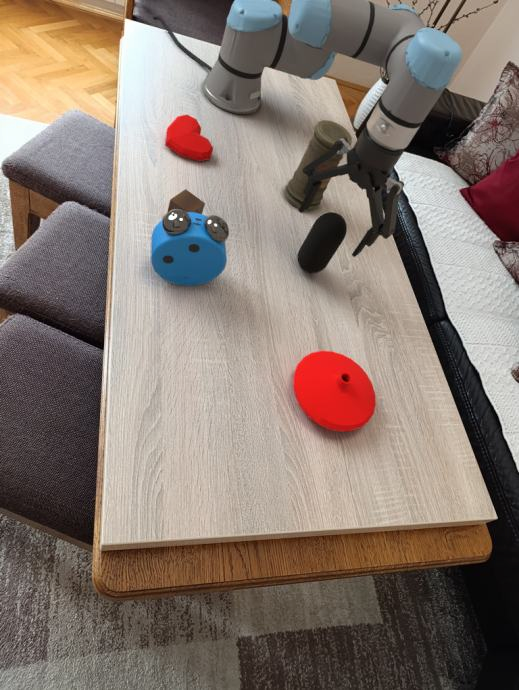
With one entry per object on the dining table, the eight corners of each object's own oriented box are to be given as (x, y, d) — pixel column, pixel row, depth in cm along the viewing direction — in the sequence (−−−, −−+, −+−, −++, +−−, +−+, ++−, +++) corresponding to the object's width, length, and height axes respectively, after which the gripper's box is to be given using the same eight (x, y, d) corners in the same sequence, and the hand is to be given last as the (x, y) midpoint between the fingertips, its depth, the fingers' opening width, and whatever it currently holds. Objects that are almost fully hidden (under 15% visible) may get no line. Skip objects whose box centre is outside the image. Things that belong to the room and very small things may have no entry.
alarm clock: (214, 267, 98) (235, 210, 86) (216, 292, 95) (238, 236, 83) (146, 257, 94) (159, 196, 82) (146, 283, 91) (159, 223, 79)
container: (278, 196, 116) (308, 129, 102) (293, 179, 122) (324, 113, 108) (310, 217, 116) (345, 152, 102) (324, 199, 122) (359, 135, 108)
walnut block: (165, 218, 101) (170, 199, 97) (180, 207, 104) (185, 188, 100) (185, 232, 101) (190, 214, 97) (199, 221, 104) (205, 203, 100)
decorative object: (316, 285, 105) (349, 235, 93) (288, 270, 104) (317, 218, 93) (324, 265, 109) (356, 215, 97) (297, 251, 108) (326, 199, 97)
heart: (176, 171, 112) (214, 162, 117) (179, 158, 108) (218, 149, 113) (152, 129, 114) (190, 122, 119) (154, 115, 111) (194, 108, 115)
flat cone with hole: (380, 431, 90) (401, 414, 84) (303, 444, 83) (321, 427, 78) (349, 355, 97) (367, 336, 92) (276, 362, 91) (291, 341, 85)
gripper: (315, 97, 81) (270, 198, 97) (437, 192, 77) (369, 280, 93) (338, 87, 85) (292, 185, 102) (455, 176, 81) (387, 263, 98)
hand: (329, 231), depth 97 cm, fingers open, 13 cm apart
